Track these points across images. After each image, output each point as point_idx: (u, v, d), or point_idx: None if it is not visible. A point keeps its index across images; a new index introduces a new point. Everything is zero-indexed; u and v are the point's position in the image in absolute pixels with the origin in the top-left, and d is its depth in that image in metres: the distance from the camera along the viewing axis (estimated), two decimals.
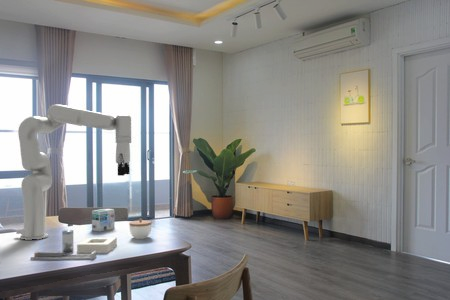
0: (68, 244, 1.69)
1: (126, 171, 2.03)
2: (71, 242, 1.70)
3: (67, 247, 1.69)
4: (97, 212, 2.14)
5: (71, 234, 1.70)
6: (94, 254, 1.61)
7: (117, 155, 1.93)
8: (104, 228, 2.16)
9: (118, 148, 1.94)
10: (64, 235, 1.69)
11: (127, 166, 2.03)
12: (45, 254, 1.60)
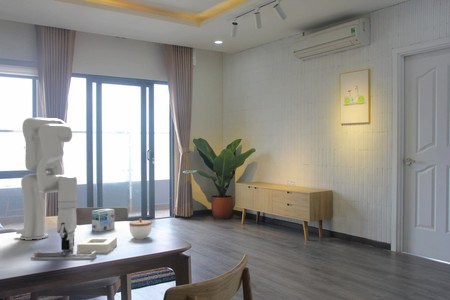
0: None
1: None
2: (71, 242, 1.70)
3: None
4: (97, 212, 2.14)
5: (71, 234, 1.70)
6: (94, 254, 1.61)
7: (58, 224, 1.66)
8: (104, 228, 2.16)
9: (60, 216, 1.66)
10: None
11: None
12: (45, 254, 1.60)
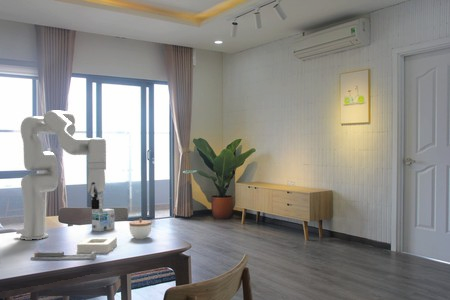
0: None
1: None
2: (101, 202, 1.75)
3: None
4: None
5: (100, 194, 1.75)
6: (94, 254, 1.61)
7: (89, 184, 1.71)
8: (104, 228, 2.16)
9: (90, 176, 1.71)
10: None
11: None
12: (45, 254, 1.60)
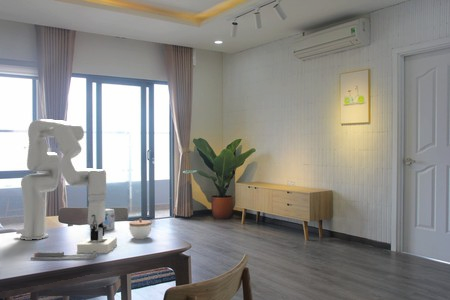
0: (98, 242, 1.74)
1: None
2: (101, 239, 1.75)
3: None
4: None
5: (100, 232, 1.75)
6: (94, 254, 1.61)
7: (89, 216, 1.71)
8: (104, 228, 2.16)
9: (90, 208, 1.71)
10: None
11: (101, 227, 1.80)
12: (45, 254, 1.60)
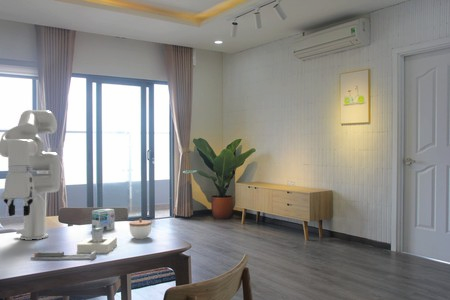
0: (98, 242, 1.74)
1: None
2: (101, 239, 1.75)
3: None
4: (97, 212, 2.14)
5: (100, 232, 1.75)
6: (94, 254, 1.61)
7: None
8: (104, 228, 2.16)
9: None
10: (94, 232, 1.74)
11: None
12: (45, 254, 1.60)
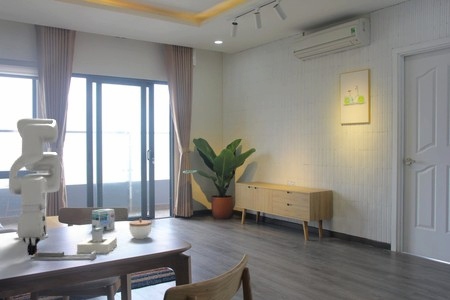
0: (98, 242, 1.74)
1: None
2: (101, 239, 1.75)
3: None
4: (97, 212, 2.14)
5: (100, 232, 1.75)
6: (94, 254, 1.61)
7: None
8: (104, 228, 2.16)
9: None
10: (94, 232, 1.74)
11: None
12: (45, 254, 1.60)
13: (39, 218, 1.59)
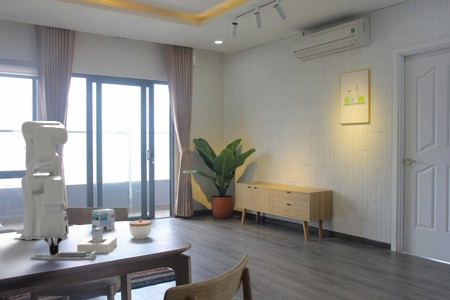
0: (98, 242, 1.74)
1: None
2: (101, 239, 1.75)
3: None
4: (97, 212, 2.14)
5: (100, 232, 1.75)
6: (94, 254, 1.61)
7: None
8: (104, 228, 2.16)
9: None
10: (94, 232, 1.74)
11: None
12: (67, 254, 1.60)
13: (61, 218, 1.59)
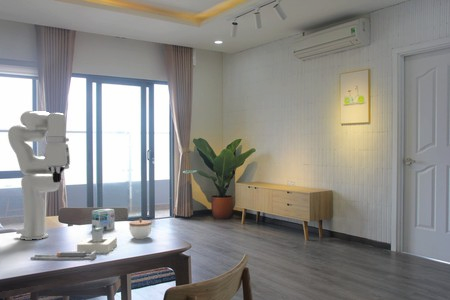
0: (98, 242, 1.74)
1: None
2: (101, 239, 1.75)
3: None
4: (97, 212, 2.14)
5: (100, 232, 1.75)
6: (94, 254, 1.61)
7: None
8: (104, 228, 2.16)
9: None
10: (94, 232, 1.74)
11: None
12: (68, 254, 1.60)
13: (63, 148, 1.77)
